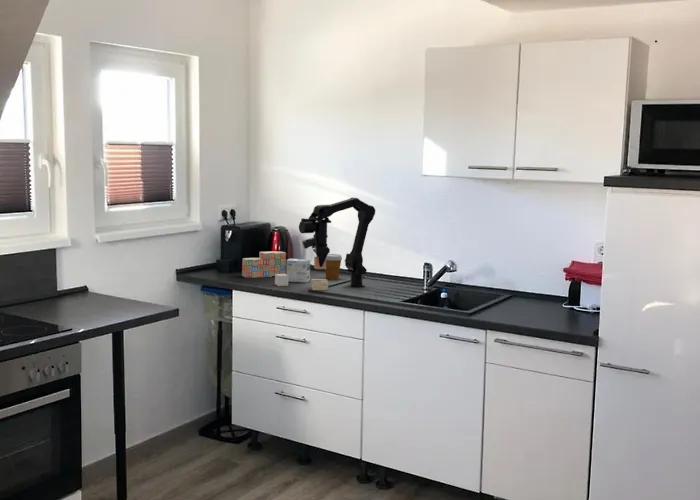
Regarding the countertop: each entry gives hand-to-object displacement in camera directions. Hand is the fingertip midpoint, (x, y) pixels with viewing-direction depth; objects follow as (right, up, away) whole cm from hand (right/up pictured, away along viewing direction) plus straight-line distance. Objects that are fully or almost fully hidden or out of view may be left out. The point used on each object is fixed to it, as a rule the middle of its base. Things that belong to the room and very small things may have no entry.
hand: (320, 265), depth 358 cm
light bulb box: (-12, -8, +21) cm, 25 cm away
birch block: (0, -11, +1) cm, 11 cm away
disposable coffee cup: (+5, -7, +30) cm, 32 cm away
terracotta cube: (0, -1, 0) cm, 1 cm away
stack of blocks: (-30, -6, +32) cm, 44 cm away
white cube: (-19, -9, +8) cm, 23 cm away
